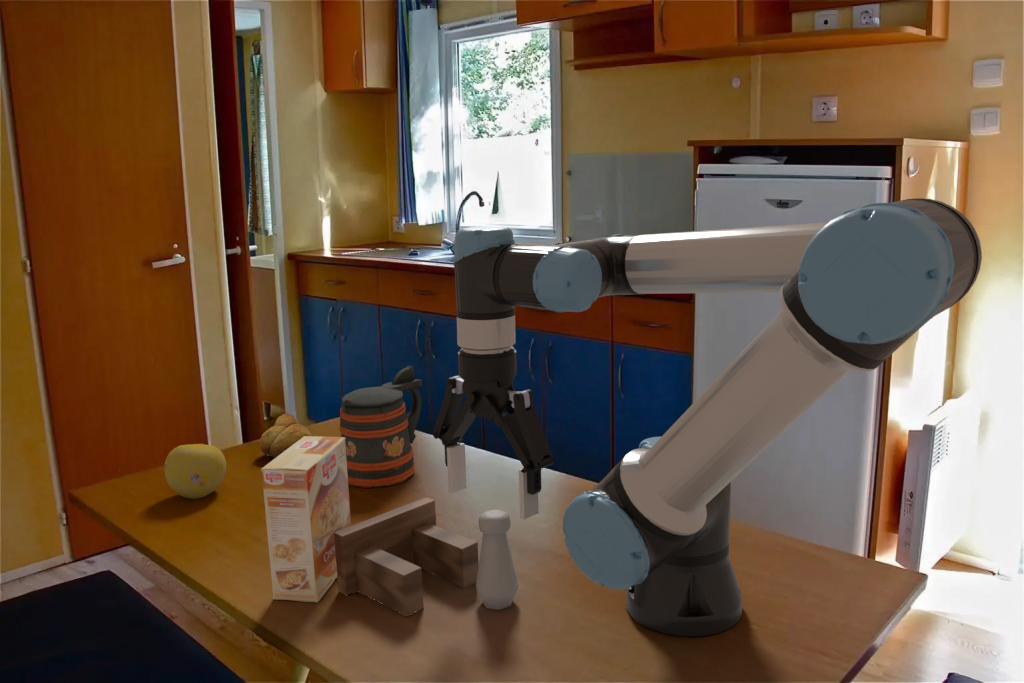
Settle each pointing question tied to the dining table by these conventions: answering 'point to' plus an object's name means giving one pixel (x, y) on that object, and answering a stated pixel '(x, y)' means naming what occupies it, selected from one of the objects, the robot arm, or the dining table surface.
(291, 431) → the bread roll
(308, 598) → the coffeecake box
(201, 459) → the fruit
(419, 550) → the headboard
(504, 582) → the salt shaker
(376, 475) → the beer stein
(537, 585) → the dining table surface
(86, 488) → the dining table surface
